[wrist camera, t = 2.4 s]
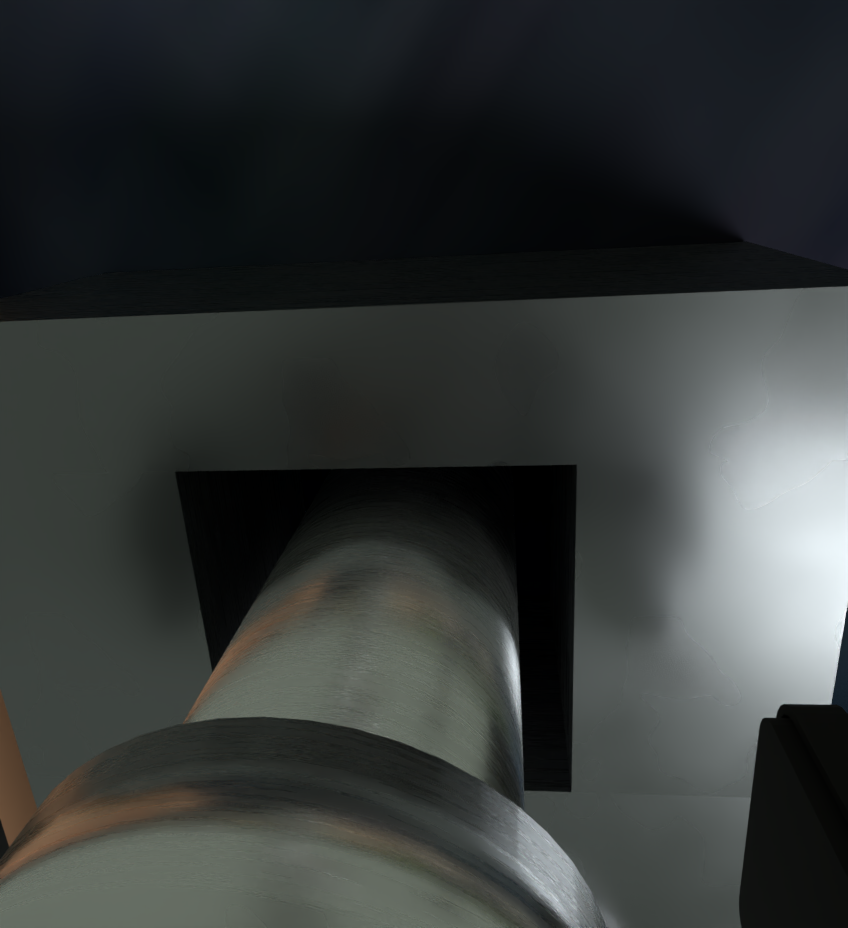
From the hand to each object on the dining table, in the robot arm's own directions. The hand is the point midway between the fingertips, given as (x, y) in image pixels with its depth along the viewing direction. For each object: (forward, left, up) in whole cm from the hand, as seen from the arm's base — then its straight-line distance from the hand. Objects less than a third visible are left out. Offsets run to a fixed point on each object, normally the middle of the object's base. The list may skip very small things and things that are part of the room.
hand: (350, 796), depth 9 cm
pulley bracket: (+5, 0, -9) cm, 10 cm away
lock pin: (0, 0, -9) cm, 9 cm away
